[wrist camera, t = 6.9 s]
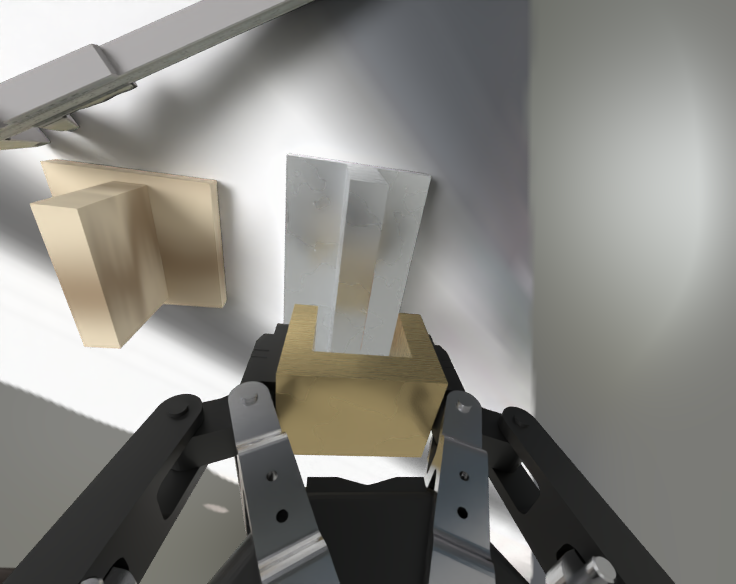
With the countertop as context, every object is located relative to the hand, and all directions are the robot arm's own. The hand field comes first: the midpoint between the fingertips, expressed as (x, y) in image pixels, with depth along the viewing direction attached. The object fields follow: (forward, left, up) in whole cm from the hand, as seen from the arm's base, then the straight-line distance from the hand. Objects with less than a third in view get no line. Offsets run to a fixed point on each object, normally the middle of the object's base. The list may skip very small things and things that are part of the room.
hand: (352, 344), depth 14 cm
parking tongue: (-1, -12, -8) cm, 14 cm away
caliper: (-11, -8, -8) cm, 16 cm away
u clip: (0, 0, 0) cm, 0 cm away
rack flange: (0, 0, -7) cm, 7 cm away
